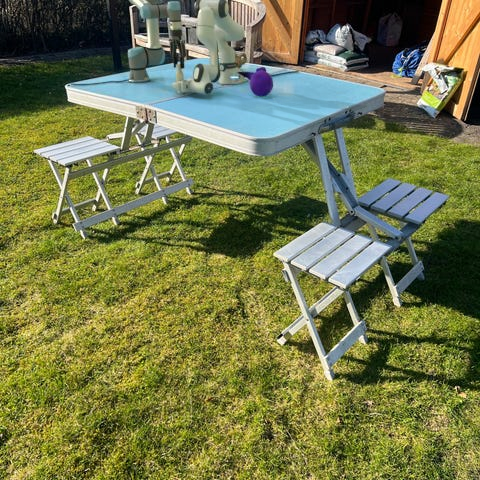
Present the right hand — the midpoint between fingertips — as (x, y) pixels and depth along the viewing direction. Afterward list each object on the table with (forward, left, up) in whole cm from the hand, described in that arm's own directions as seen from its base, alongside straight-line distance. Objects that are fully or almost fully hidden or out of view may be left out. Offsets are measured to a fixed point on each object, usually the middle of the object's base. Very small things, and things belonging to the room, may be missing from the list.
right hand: (179, 82), depth 299 cm
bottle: (0, +1, -7) cm, 7 cm away
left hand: (0, +1, +9) cm, 9 cm away
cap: (0, +1, +11) cm, 11 cm away
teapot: (-82, -30, -7) cm, 87 cm away
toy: (-30, +43, -7) cm, 53 cm away
